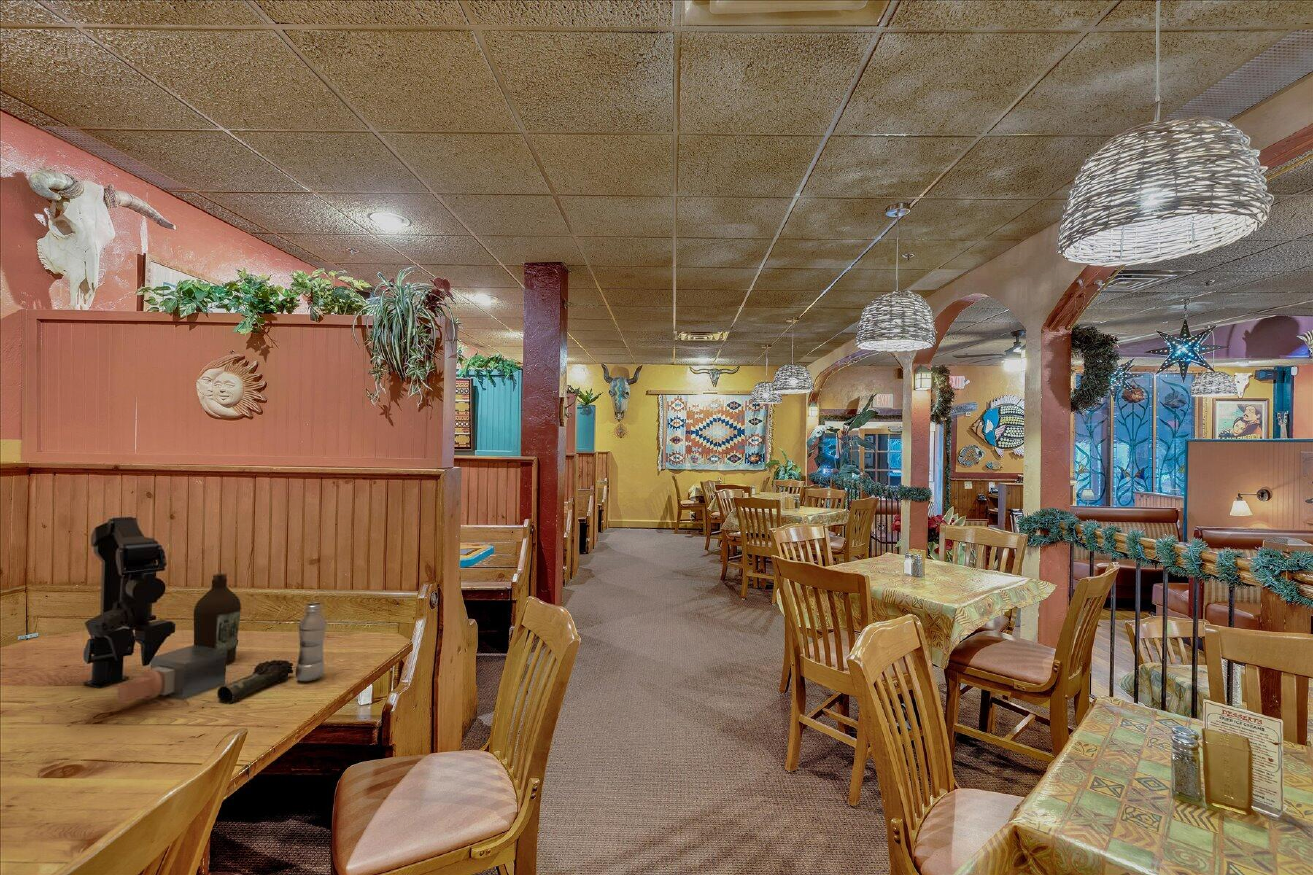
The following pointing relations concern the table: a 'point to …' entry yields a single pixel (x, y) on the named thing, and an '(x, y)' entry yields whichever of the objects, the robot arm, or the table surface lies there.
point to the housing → (194, 669)
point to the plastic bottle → (311, 643)
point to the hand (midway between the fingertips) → (132, 662)
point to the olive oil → (218, 618)
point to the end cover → (148, 684)
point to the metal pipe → (255, 680)
